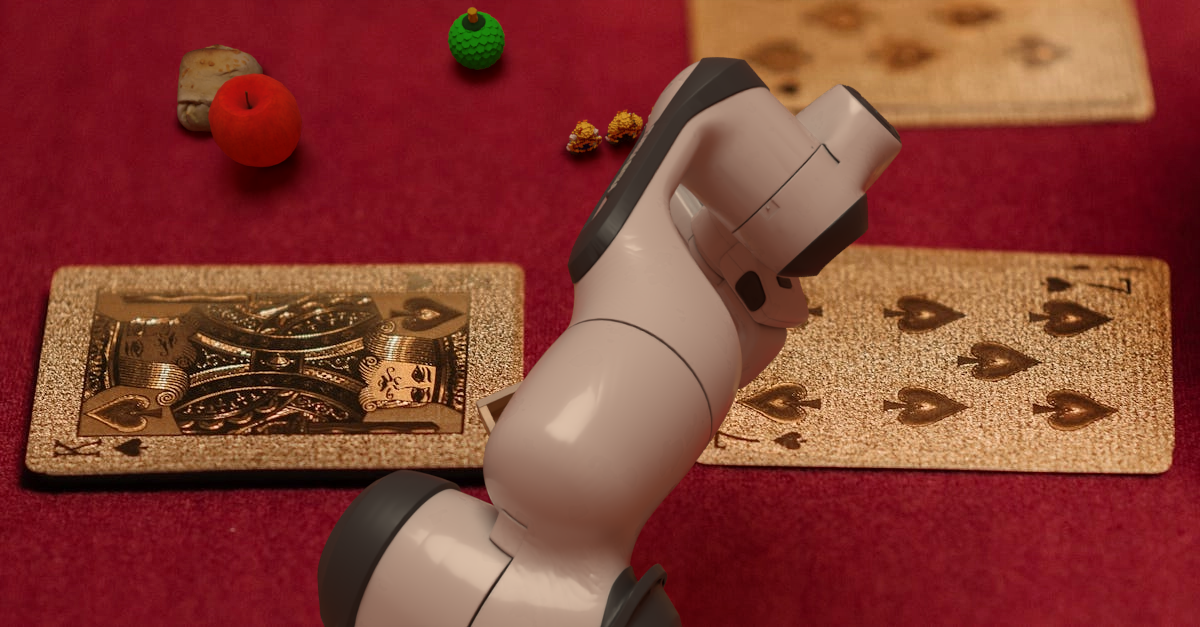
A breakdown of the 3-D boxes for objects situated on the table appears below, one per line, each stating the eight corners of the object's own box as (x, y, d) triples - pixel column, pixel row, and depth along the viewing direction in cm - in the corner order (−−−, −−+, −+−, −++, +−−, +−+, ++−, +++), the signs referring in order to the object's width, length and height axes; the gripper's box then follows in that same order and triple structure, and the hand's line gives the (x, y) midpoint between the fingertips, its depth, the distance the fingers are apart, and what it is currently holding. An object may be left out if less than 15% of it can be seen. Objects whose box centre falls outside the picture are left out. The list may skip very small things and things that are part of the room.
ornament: (512, 75, 158) (506, 25, 150) (458, 86, 157) (449, 37, 149) (500, 35, 162) (494, -16, 153) (447, 46, 161) (437, -4, 152)
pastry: (244, 50, 161) (227, 11, 154) (287, 101, 156) (272, 62, 149) (158, 97, 157) (137, 58, 150) (200, 150, 152) (180, 113, 145)
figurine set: (683, 138, 152) (685, 108, 147) (571, 168, 150) (569, 138, 144) (674, 120, 154) (677, 89, 148) (564, 149, 152) (562, 119, 146)
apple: (257, 205, 147) (227, 143, 136) (212, 153, 152) (178, 89, 140) (330, 158, 151) (306, 94, 140) (283, 109, 156) (256, 43, 144)
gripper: (662, 148, 97) (568, 249, 103) (781, 327, 88) (670, 426, 94) (702, 161, 102) (610, 256, 108) (819, 332, 93) (710, 425, 99)
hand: (638, 337), depth 101 cm, fingers closed on small box, 6 cm apart
